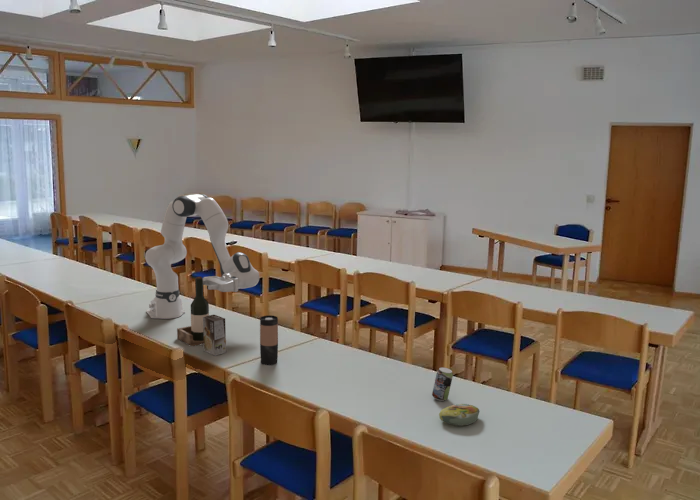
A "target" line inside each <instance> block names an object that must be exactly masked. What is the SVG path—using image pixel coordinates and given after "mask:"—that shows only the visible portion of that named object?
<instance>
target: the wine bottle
mask: <svg viewBox="0 0 700 500" xmlns="http://www.w3.org/2000/svg"><path fill="white" fill-rule="evenodd" d="M194 280H195V281H194V282H195V297H194V299H192V303H191V304H190V326H191V335H193V340H194V341H204V333H203V317H206V316H209V315H210V312H209V311H210V307H209V305H210V304H209V302H208V300H206V298H205V296H204V285H203V277H202V276H196V277H195V279H194Z"/></svg>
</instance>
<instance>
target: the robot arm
mask: <svg viewBox="0 0 700 500" xmlns="http://www.w3.org/2000/svg"><path fill="white" fill-rule="evenodd" d="M196 216H199V217H200V218H201V220H202V222H203V223H204V226H205V228H206V230H207V232H208V236H209V240H210V244H211V247H212V249H213V251H214V253H215V255H216V256H215V257H216V259H217V261H218V264H219V268H220V274H221V276H216V275H212V276H203V277H202V279H203V286H206V289H207V290H217V291H219V292H221V293H229V292H233V293H235V292H239V289H248V288H253V287H255V286H256V285H258V284H259V281H260V272H259V271H258V270H257V269H255V267H253V265H252V263H251V262H250V258H249V256H248V254H246V253H243V252H239V251H238V252H234V254H232V256H231V255H230V253H229V250H228V248H227V246H226V236H227V232H228V230H229V225H230V224H229V221H228V218H227V216H226V215H225V212H224V211H223V209H222V208H221V207H220V205H219V204H218V202H217V201H216V200H215V199H214V198H212V197H210V196H208V195H206V194H204V193H189V194H186V195H181V196H178V197H176V198H175V199H174V200H171V201H170V202H169V204H168V206H167V208H166V210H165V213H164V216H163V220H162V225H161V229H160V233H161V236H162V237H163V238H164V243H163V244H160V245H155V246H153V247H150V248H149V249H147V250H146V252H145V256H144V258H145V261H146V264H147V265H148V266H150V267H151V269H152V270H153V272H154V275H155V280H156V289H155V297H154V298H153V299H152V300H151V301H150V303H149V304H148V305H149V306H148V307H149V308H148V309H145V310H146V311H145V312H146V314H147V315H148V316H149V317H150V318H151V319H163V320H164V319H165V320H166V319H170V320H171V319H176V318H179V317H181V316H183V314H185V313H186V311H185V310H184V308H183V301H182V299H183V298H181V297H180V288H179V276H178V274H177V272H175V271H174V270H173V269H172V264H176V263H179V262H181V261H183V260H184V259H185V258H186V257H187V253H188V251H187V248H186V246H185V245H184V243H183V234H184V230H185V225H186V221H187V217H196Z"/></svg>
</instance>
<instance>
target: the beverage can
mask: <svg viewBox="0 0 700 500" xmlns="http://www.w3.org/2000/svg"><path fill="white" fill-rule="evenodd" d="M453 376H454V374H453V371H452V370H451V369H450V368H447V367H445V366H444V367H439V369H437V370H436V375H435V377H434V378H435V379H434V383H433V388H432V393H431V395H432V397H433V398H434V400H437V401H441V402H443V401H444V400H445V401H446V400H448V398H449V395H450V389H451V385H452V380H453Z"/></svg>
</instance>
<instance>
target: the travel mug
mask: <svg viewBox="0 0 700 500" xmlns="http://www.w3.org/2000/svg"><path fill="white" fill-rule="evenodd" d="M278 321H279V319H278V316H275V315H262V316H260V318H259V350H260V354H259V355H260V363H261V365H264V366H274V365H277V363H278V357H279V356H278V352H279V351H278V349H279V334H278V333H279V325H278V324H279V323H278Z"/></svg>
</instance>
